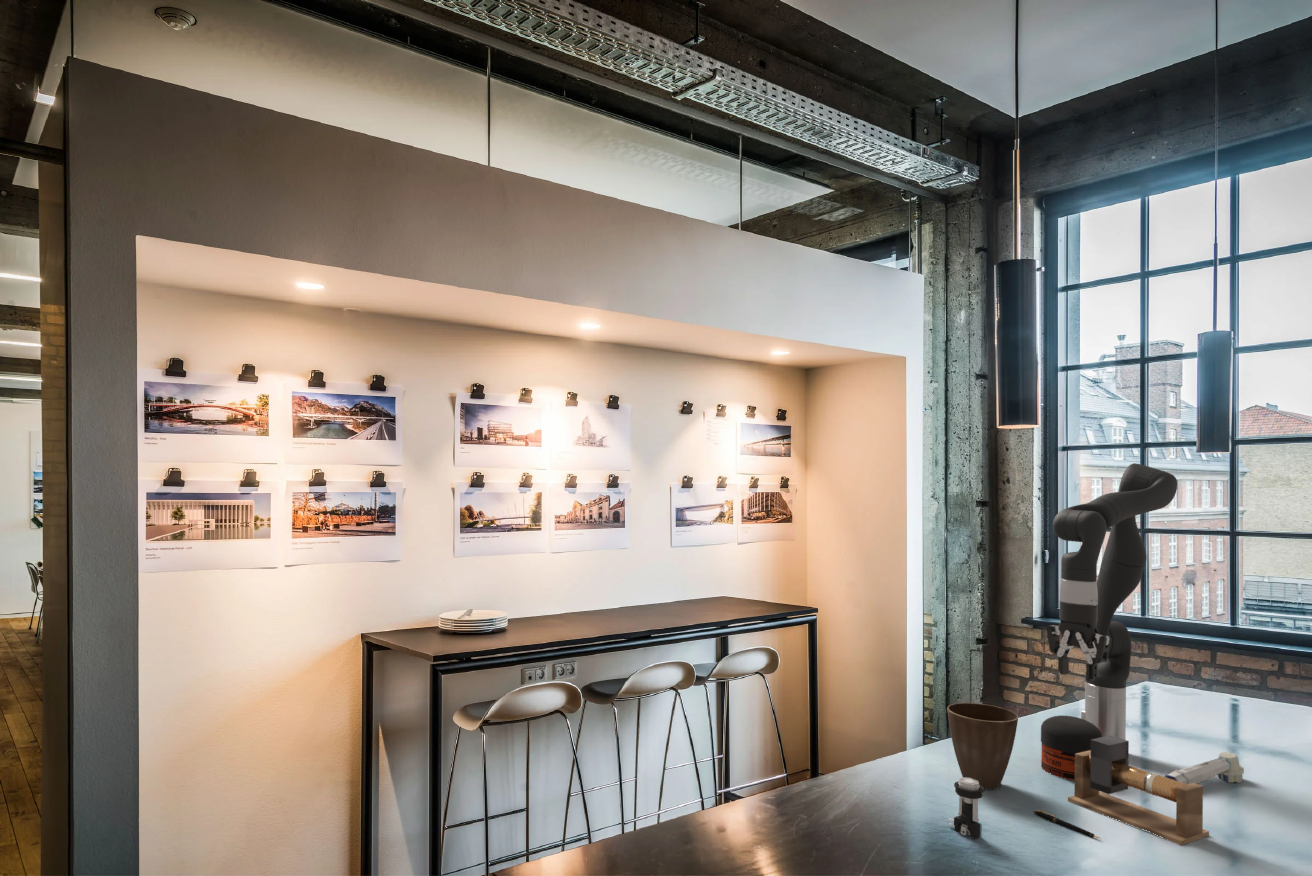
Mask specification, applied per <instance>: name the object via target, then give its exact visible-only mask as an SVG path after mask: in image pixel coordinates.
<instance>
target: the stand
mask: <svg viewBox="0 0 1312 876" xmlns="http://www.w3.org/2000/svg"><path fill="white" fill-rule="evenodd" d="M1090 754H1091V750H1089V751H1085V752H1081V753H1076V754H1075V781H1074V795H1072V796H1068V797H1067V802H1070V803H1072V804H1074V805H1077V806H1079V807H1081V808H1084V809H1087V810H1090V811H1092V812H1094V811H1095V813H1097V812H1098V813H1097V814H1100V815H1102V814H1104V815H1103V816H1105V817H1107V816H1109V817H1108V818H1110V817H1111V819H1112V818H1114V819H1113V820H1115V819H1117V820H1116V821H1118V820H1120V821H1122V822H1121V823H1123V822H1124V823H1123V824H1125V823H1127V824H1126V825H1128V824H1130V825H1133V826H1135V827H1138V828H1140V829H1139V830H1141V829H1144V830H1147V831H1150V832H1151V833H1154V834H1156V835H1158V836H1157V837H1159V836H1161V837H1163V838H1162V839H1164V840H1166V839H1168V840H1167V841H1169V840H1170V842H1171V841H1172V843H1174V842H1175V843H1174V844H1177V843H1178V844H1177V845H1179V846H1183V845H1187V844H1189V843H1192V842H1195V841H1198V840H1200V839H1203V838H1206V837H1208V836H1210V831H1209V830H1206V829H1204V828H1203V827H1204V826H1203V825H1204V824H1203V822H1204V821H1203V819H1204V816H1203V813H1204V811H1203V810H1204V803H1203V801H1204V786H1203V785H1201V784H1199V783H1198V784H1195V783H1191V784H1187V785H1184V786H1180V787H1177V789H1176V802H1175V803H1176V807H1175V808H1176V809H1175V813H1176V814H1175V818H1174V817H1171V816H1168V815H1165V814H1164V813H1160V812H1157V811H1154V810H1152V809H1149V808H1146V807H1143V806H1141V805H1137V804H1135V803H1133V802H1130V801H1127V800H1125V799H1122V798H1118V797H1116V796H1114V795H1111V794H1106V793H1104V792H1101V791H1098V790H1095V789H1093V788H1090V772H1088V771H1087V769H1086V759H1087V757H1088V756H1089V755H1090ZM1120 821H1119V822H1120ZM1130 825H1129V826H1130ZM1133 826H1132V827H1133ZM1135 827H1134V828H1135ZM1138 828H1137V829H1138ZM1151 833H1150V834H1151ZM1156 835H1155V836H1156ZM1161 837H1160V838H1161ZM1186 843H1187V844H1186Z"/></svg>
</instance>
